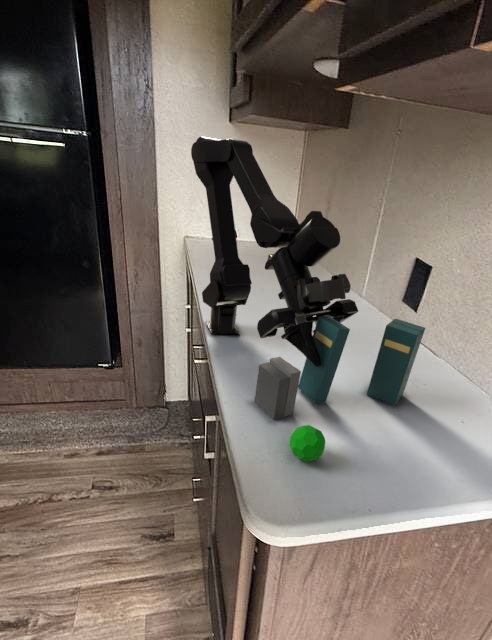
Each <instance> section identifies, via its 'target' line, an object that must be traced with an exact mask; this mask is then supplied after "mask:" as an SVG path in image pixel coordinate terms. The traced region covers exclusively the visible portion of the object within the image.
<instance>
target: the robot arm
mask: <svg viewBox="0 0 492 640" xmlns="http://www.w3.org/2000/svg"><path fill="white" fill-rule="evenodd" d="M190 154H191V159H192V162H193V167H194V171H195V175H196V177H197V178H198V179H199V180H200V182H201V184H202V185H203V186H204V187H205V192H206V200H207V208H208V215H209V222H210V229H211V236H212V237H211V238H212V245H213V253H214V262H213V265H212V268H211V270H210V272H209V283H208V285H206V287H205V288H204V289H203V290H202V291H201V296H202V297H201V298H202V302H203V303H204V304H205V305H206V306H208V307H210V320H207V321H206V322H205V323H206V326H207V328H208V330H209V332H210V334H211V335H239V334H240V330H239V329H238V327H237V325H236V322H237V310H238V306H245V305H247V301H248V299H249V296H250V293H251V289H252V284H253V282H252V279H251V273H250V272H251V270H250V266H249V264H247V263H245V264H244V263H243V262H242V260H241V259H240V257H239V251H238V250H239V249H238V242H237V234H236V225H235V217H234V210H233V202H232V194H231V183H232V180H233V179H235V181H236V183H237V185H238V187H239V190H240V191H241V193H242V195H243V197H244V200H245V202H246V204H247V206H248V208H249V210H250V213H251V216H250V222H249V225H250V228H251V231H252V235H253V238H254V240H255V242H256V245H258V247H260V248H263V249H277V250H276V251H275V252H274V253H269V254H268V255H267V260H266V261H265V263H264V269H265V270H266V271H269V270H271V271H272V270H273V271H274V274H275V277H276V279H277V282H278V285H279V288H280V290H281V291H280V292H278V294H277V296H278V299H279V300H284V301H285V303H286V307H282V308H274V309H271V310H270V311H268V312H267V313H266V314H265V315H264V316H262V317H261V318H260V319H259V320H258V322H257V326H256V329H257V333H258V335H259V338H260V339H266V338H271V337H274V336H276V335H277V332H278V329H281V328H283V331H284V333H283V334H282V335H281V336H280V338H281V340H286V341H287V342H288V343H289V344H291V345H292V346H293V347H294V348H296V349H297V350H298V351H299V352H300V353H301V354H302V355H303V356H304V357H305V358H308V359H309V360H310V361H311V362H312V363H313V364H314V365H315V366H316V367H319V366H321V360H320V356H319V353H318V350H317V347H316V344H315V341H314V338H313V334H314V331H315V329H313V327H314V324H315V325H316V324H317V320H318V317H319V316H330V317H331V318H333V319H334V320H336V321H338V322H339V323H341V324H342V322H344V321H346V320H348V319H350V318H351V317H352V316H354V315H356V314H357V313H359V308H358V307H357V304H356V301H354V300H352V299H350V298H349V299H346V298H347V296H346V294H348V293H350V291H351V282H350V280H349V278H348V276H347V275H346V273H337V274H334V275H332V276H331V277H330V279H328V280H327V279H326V280H320V278H319V277H318V276H312V273H311V272H310V269H309V267H315V266H316V265H317V264H319V262H321V261H322V260H323V259H325V258H326V257H327V256H328V255H329V254H330V253H331V252H333V251H334V250H335V249H336V248H337V247H339V245H340V243H341V235H340V231H339V229H338V228H337V227H335V225H334V224H333V222H332V221H330V220H329V219H328V218H326V217H324V215H323V213H322V211H321V210H311V211H309V212H308V213H307V215H306V216H305V218H304V220H302V221H301V222H300V223H299V221H298V219H297V217H296V216H295V214H294V213H293V212H292V211H291V209H290V208H289V207H288V206H287V205H286V204H284V203H283V202H281V201H280V200H279V199H278V198H277V197H276V196H275V194H274V192H273V190H272V188H271V186H270V184H269V183H268V180H267V178H266V176H265V175H264V173H263V171H262V168H261V166H260V165H259V163H258V161H257V159H256V157H255V155H254V151H253V147H252V145H251V143H249V142H248V141H246V140H241V139H236V138H230V137H229V138H227V139H226V138H225V139H218V138H211V137H206V136H199V137H197V139H196V140H195V142H193V143H192V146H191V149H190ZM337 299H340V300H337ZM334 300H336V301H334ZM332 301H333V303H331V302H332ZM324 307H326V308H324Z"/></svg>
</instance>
